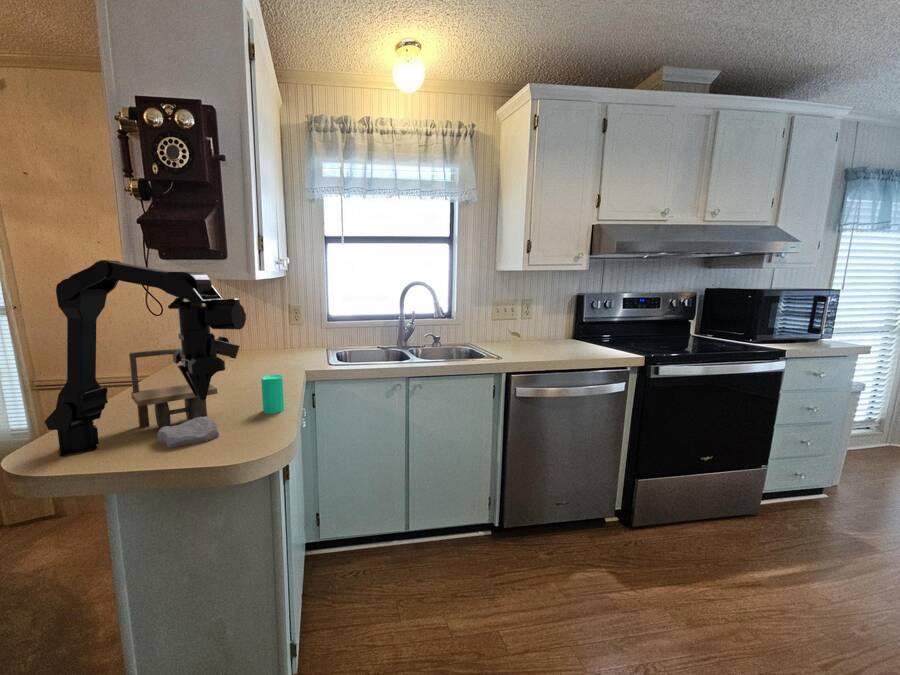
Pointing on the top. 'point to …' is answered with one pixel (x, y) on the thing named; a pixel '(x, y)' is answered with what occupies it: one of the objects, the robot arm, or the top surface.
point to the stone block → (188, 432)
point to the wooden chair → (164, 396)
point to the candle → (272, 393)
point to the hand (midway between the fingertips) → (200, 397)
